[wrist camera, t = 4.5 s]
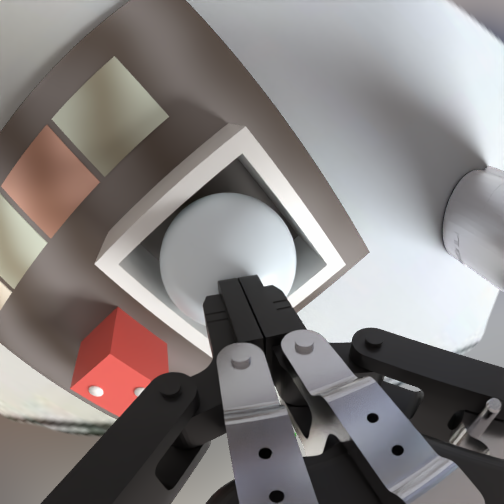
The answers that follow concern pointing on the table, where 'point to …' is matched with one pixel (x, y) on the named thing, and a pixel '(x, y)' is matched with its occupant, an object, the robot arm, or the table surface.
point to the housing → (181, 189)
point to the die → (118, 362)
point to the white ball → (224, 249)
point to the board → (128, 175)
